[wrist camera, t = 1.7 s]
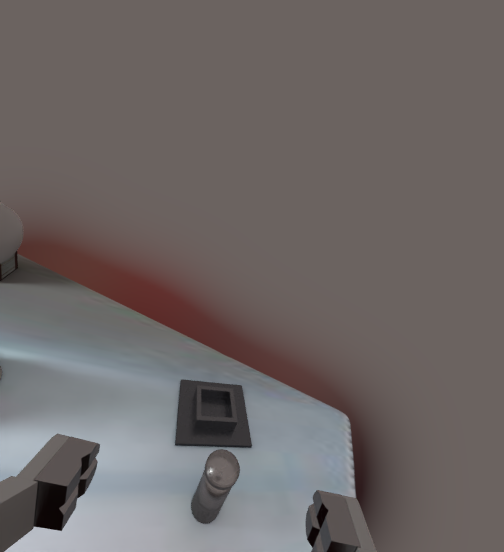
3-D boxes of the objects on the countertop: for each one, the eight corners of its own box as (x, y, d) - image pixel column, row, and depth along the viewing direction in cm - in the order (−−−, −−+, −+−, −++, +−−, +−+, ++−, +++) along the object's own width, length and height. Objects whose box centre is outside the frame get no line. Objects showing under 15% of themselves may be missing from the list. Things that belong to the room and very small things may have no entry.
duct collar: (175, 445, 52) (178, 435, 51) (180, 381, 66) (183, 372, 65) (250, 447, 57) (255, 438, 56) (241, 387, 71) (244, 379, 70)
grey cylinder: (189, 526, 42) (206, 486, 38) (190, 487, 47) (205, 448, 43) (222, 524, 44) (242, 485, 39) (220, 486, 48) (237, 449, 44)
